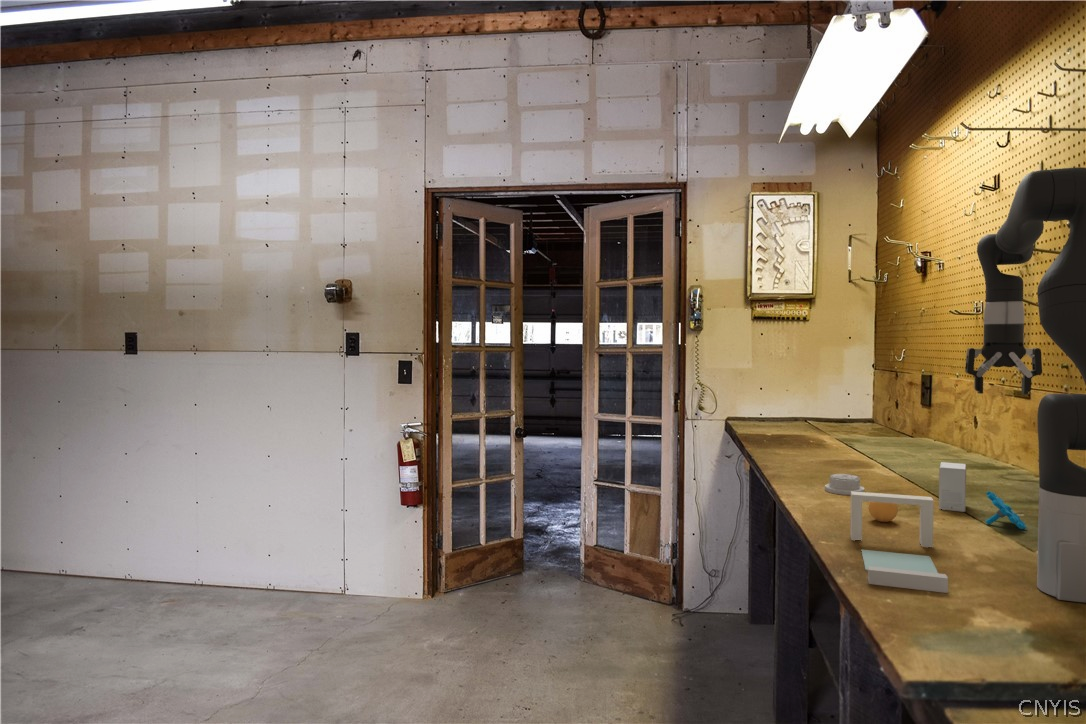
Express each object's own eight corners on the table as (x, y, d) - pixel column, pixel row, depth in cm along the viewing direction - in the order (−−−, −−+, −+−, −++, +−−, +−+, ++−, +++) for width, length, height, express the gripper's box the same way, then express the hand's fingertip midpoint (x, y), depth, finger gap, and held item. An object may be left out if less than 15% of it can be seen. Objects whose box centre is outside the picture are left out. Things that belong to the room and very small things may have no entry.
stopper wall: (947, 593, 113) (948, 578, 113) (868, 583, 117) (868, 569, 117) (945, 588, 115) (945, 574, 115) (867, 579, 119) (867, 565, 119)
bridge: (932, 547, 136) (933, 500, 136) (851, 540, 142) (851, 494, 141) (930, 543, 139) (931, 496, 138) (850, 536, 144) (850, 491, 144)
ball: (899, 526, 151) (899, 499, 151) (869, 523, 153) (869, 497, 153) (896, 519, 157) (896, 493, 156) (867, 516, 159) (867, 491, 159)
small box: (965, 512, 161) (966, 469, 161) (938, 509, 164) (939, 467, 164) (965, 505, 168) (966, 463, 168) (939, 502, 171) (940, 461, 171)
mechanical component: (871, 496, 180) (853, 487, 190) (872, 479, 179) (853, 471, 189) (835, 496, 179) (818, 488, 189) (835, 480, 179) (818, 472, 189)
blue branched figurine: (1026, 528, 143) (988, 490, 148) (1002, 544, 145) (965, 506, 150) (1031, 523, 151) (995, 487, 156) (1008, 539, 154) (973, 503, 159)
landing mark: (940, 578, 119) (940, 577, 119) (865, 570, 124) (865, 569, 124) (929, 557, 130) (929, 556, 130) (861, 550, 135) (861, 549, 135)
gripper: (970, 322, 151) (969, 394, 152) (1047, 321, 146) (1045, 396, 147) (963, 323, 158) (962, 391, 159) (1036, 322, 153) (1034, 393, 154)
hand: (1002, 393), depth 153 cm, fingers open, 8 cm apart
